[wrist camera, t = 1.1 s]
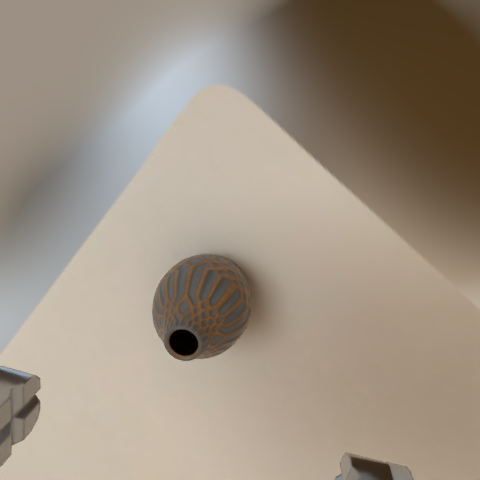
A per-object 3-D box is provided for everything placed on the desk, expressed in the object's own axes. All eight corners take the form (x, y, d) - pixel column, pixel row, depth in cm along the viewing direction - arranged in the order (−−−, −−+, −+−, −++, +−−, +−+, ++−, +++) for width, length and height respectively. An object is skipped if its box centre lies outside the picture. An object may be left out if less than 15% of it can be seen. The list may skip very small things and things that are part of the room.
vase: (155, 280, 31) (104, 337, 23) (212, 226, 29) (179, 266, 20) (214, 337, 32) (185, 411, 23) (273, 288, 30) (265, 351, 21)
